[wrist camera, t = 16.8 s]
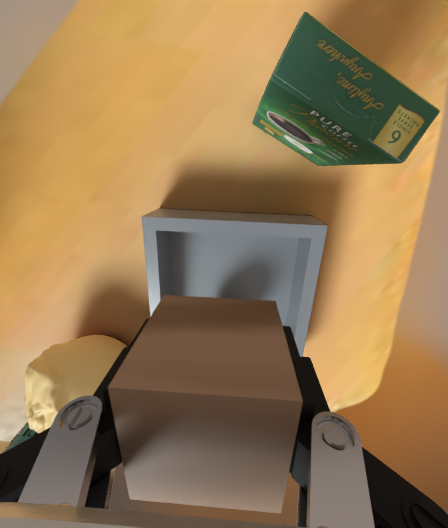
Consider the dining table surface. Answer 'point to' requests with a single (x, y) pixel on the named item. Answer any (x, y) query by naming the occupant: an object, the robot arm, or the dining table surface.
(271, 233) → the tote
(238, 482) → the walnut cube
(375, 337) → the dining table surface
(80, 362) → the sculpture
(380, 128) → the coffee box
